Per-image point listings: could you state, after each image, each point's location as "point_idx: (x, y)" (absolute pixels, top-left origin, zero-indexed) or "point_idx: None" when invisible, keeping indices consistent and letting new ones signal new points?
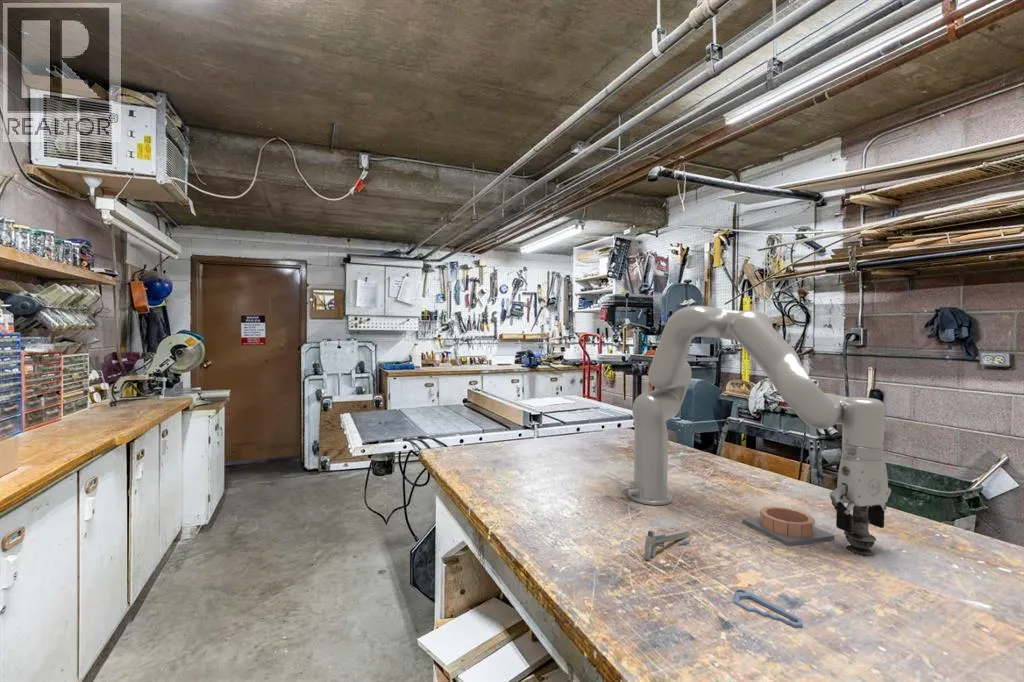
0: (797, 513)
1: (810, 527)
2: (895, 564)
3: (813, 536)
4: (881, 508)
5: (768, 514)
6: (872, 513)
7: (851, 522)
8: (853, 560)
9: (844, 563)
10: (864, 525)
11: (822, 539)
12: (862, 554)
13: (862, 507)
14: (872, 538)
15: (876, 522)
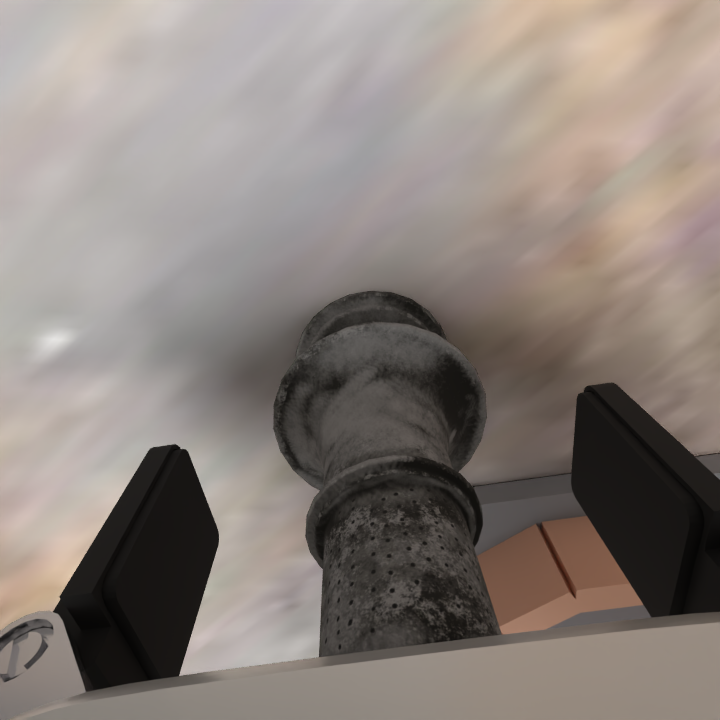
0: None
1: (575, 564)
2: (292, 162)
3: (538, 514)
4: (73, 639)
5: None
6: (175, 602)
7: (652, 440)
8: (542, 253)
9: (651, 220)
10: (411, 442)
11: (488, 493)
12: (410, 313)
13: None
14: (340, 357)
15: (188, 504)
